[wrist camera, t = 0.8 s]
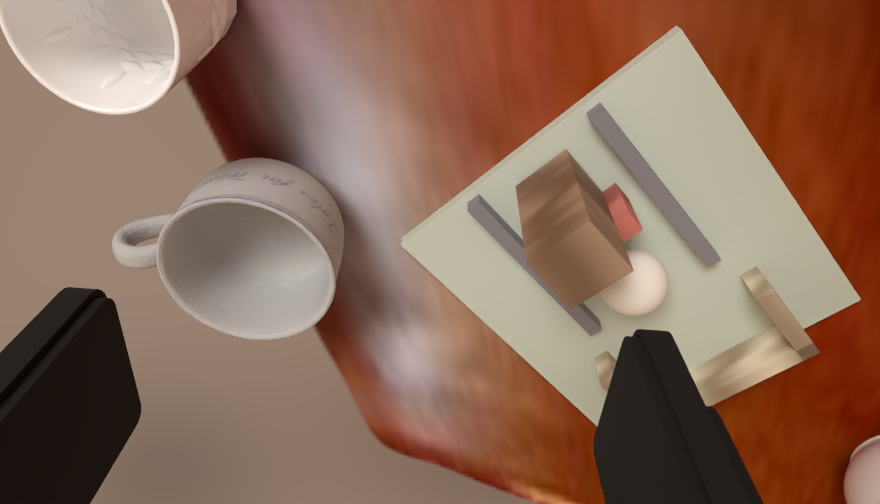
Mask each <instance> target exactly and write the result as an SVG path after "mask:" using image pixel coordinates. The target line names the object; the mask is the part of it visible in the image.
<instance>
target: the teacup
mask: <svg viewBox="0 0 880 504" xmlns="http://www.w3.org/2000/svg"><path fill="white" fill-rule="evenodd" d="M156 237H158V241H157V243H155V244H152V245H148V246H141V247H139V246H135V245H136V244H138V243H140V242H142V241H145V240H148V239H152V238H156ZM343 248H344V225H343V220H342V217H341V213H340V211H339V208H338V206H337V204H336V202H335V200H334V199H333V197H332V196H331V194H330V193H329V192H328V190H327V189H326V188H325V187H324V186H323V185H322V184H321V183H320V182H319V181H318V180H317V179H315V178H314V177H313V176H312V175H310V174H309V173H307V172H305V171H304V170H302V169H300V168H298V167H296V166H294V165H292V164H289V163H286V162H283V161H279V160H274V159H269V158H246V159H240V160H236V161H232V162H229V163H227V164H225V165H222V166H221V167H219V168H217V169H215V170H214V171H212V172H211V173H210V174H208V175H207V176H206V177H205V178H204V179H203V180H202V181H201V182H200V183H199V184H198V185H197V186H196V187H195V188H194V189H193V191H192V192H191V193H190V195H189V196H188V197H187V199H186V200H185V201H184V203H183V204H182V205H181V206H180V208H179V209H178V211H177V212H175V213H174V214H167V215H161V216H155V217H149V218H144V219H140V220H137V221H134V222H132V223H129V224H127V225H125V226H123V227H122V228H121V229H119V230H118V231H117V233H116V234H115V235H114V237H113V241H112V249H113V252H114V255H115V257H116V259H117V260H118V261H119V262H120V263H121V264H122V265H124V266H127V267H130V268H135V269H146V268H151V267H158V271H159V274H160V277H161V279H162V281H163V283H164V285H165V287H166V288H167V289H168V291H169V293H170V295H171V296H172V297H173V299H174V300H175V301H176V302H177V304H179V306H181V308H183V309H184V310H185V311H186V312H187V313H189V314H190V315H191V316H193V317H194V318H196V319H197V320H199V321H201V322H202V323H204V324H205V325H207V326H209V327H211V328H213V329H215V330H218V331H220V332H223V333H226V334H230V335H232V336H235V337H240V338H245V339H253V340H273V339H281V338H286V337H290V336H294V335H296V334H299V333H302V332H303V331H305V330H307V329H309V328H310V327H312V326H313V325H315V324H316V323H317V322H318V321H319V320H320V319H321V318H322V317H323V316H324V315H325V313H326V312H327V311H328V309H329V306H330V305H331V303H332V301H333V298H334V295H335V290H336V279H337V276H338V272H339V268H340V264H341V260H342V254H343Z"/></svg>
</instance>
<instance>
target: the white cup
mask: <svg viewBox="0 0 880 504" xmlns="http://www.w3.org/2000/svg"><path fill="white" fill-rule="evenodd" d="M236 13H237V0H0V25H1V28H2V30H3V33H4V35H5V37H6V39H7V41H8V43H9V45H10V47H11V48H12V50H13V51H14V53H15V55H16V56H17V57H18V59H19V60H20V62H21V63H22V64H23V65H24V67H25V68H26V69H27V70H28V71H29V72H30V73H31V74H32V75H33V76H34V77H35V78H36V79H37V80H38V81H39V82H40V83H41V84H42V85H43V86H45V87H46V88H47V89H49V90H50V91H51V92H53V93H54V94H55V95H57V96H59V97H60V98H62V99H63V100H65V101H67V102H69V103H71V104H73V105H75V106H78V107H80V108H83V109H86V110H89V111H92V112H96V113H101V114H108V115H109V114H110V115H125V114H131V113H136V112H139V111H142V110H144V109H147V108H149V107H150V106H152V105H154V104H155V103H157V102H158V101H159V100H160V99H161V98H162V97H164V96H165V95H166V94H167V93H168V92H169V91H170V90H171V89H172V88H173V87H174V86H175V85H176V84H177V83H178V82H179V81H181V80H182V79H183V78H184V77H185V76H186V75H187V74H188V73H189V72H190V71H191V70H193V69H194V68H195V67H196V66H197V65H198V64H199V63H200V61H201V60H202V59H203V58H204V57H205V56H206V55H207V54H208V53H209V52H210V51H211V50H212V49H213V47H214V46H215V45H216V43H217V42H218V41H219V40H221V39H222V38H223V37H224V36H225V35H226V33H227V31H228V29H229V27H230V25H231V23H232V21H233V19H234V17H235V15H236Z"/></svg>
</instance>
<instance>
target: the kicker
mask: <svg viewBox="0 0 880 504" xmlns="http://www.w3.org/2000/svg"><path fill="white" fill-rule="evenodd" d="M515 187H516V194H517V201H518V208H519V215H520V222H521V229H522V236H523V243H524V250H525V258H526V264H527V265H528V266H529V267H530V268H531V269H532V270H533V271H534V272H535V273H536V274H537V275H538V276H539V277H540V278H541V279H542V280H543V281H544V282H545V283H546V285H547V286H548V287H549V288H550V289H551V290H552V291H553V292H554V293H555V294H556V295H557V296H558V297H559V298H560V299H561V300H562V301H563V302H564V303H565V304H566V305H567V306H568V307H569V308H570V309H573V308H574V307H576V306H578V305H579V304H581V303H583V302H584V301H586V300H587V299H589V298H591V297H592V296H594V295H596V294H597V293H599V292H600V291H602V290H604V289H605V288H607V287H609V286H610V285H612V284H613V283H615V282H617V281H618V280H620V279H622V278H623V277H625V276H626V275H628V274H630V273H631V272H633V271H634V270H633V267H632V265H631V262H630V260H629V257H628V255H627V252H626V250H625V247H624V245H623V242H625V241H626V240H628V239H630V238H631V237H633V236H634V235H636V234H637V233H639V232H641V231H642V230H643V229H642V226H641V224H640V222H639V220H638V218H637V216H636V214H635V212H634V209H633V207H632V205H631V203H630V201H629V199H628V197H627V196H626V195H625V194H624V192H623V191H622V190H621V189H620V188H619V186H618V185H617V184H616V183H614V184H613V185H611V186H610V187H609V188H607V189H606V190H604V191H603V192H602V191H601V190H600V188H599V187H598V186H597V185H596V184H595V182H594V181H593V180H592V179H591V178H590V176H589V175H588V174H587V173H586V172H585V171H584V169H583V168H582V167H581V166H580V165H579V163H578V162H577V161H576V160H575V159H574V157H573V156H572V155H571V154H570V153H569V151H568V150H567V149H565V150H563V151H562V152H561V153H559V154H558V155H557V156H555V157H554V158H553V159H551V160H550V161H549V162H547V163H546V164H545V165H543V166H542V167H541V168H539V169H538V170H537V171H535V172H534V173H533V174H531V175H530V176H528V177H527V178H526V179H524V180H523V181H522V182H520V183H519V184H518V185H516V186H515Z"/></svg>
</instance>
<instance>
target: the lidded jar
mask: <svg viewBox="0 0 880 504" xmlns="http://www.w3.org/2000/svg"><path fill="white" fill-rule="evenodd" d="M844 497H845V500H846V504H880V435H877V436H874V437H872V438H870V439H868V440H866V441H864V442H863V443H861V444H860V445H859V446H857V447H856V448H855V449H854V451H853V452H852V454H851V456H850V459H849V465H848V467H847V469H846V472H845V476H844Z"/></svg>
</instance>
